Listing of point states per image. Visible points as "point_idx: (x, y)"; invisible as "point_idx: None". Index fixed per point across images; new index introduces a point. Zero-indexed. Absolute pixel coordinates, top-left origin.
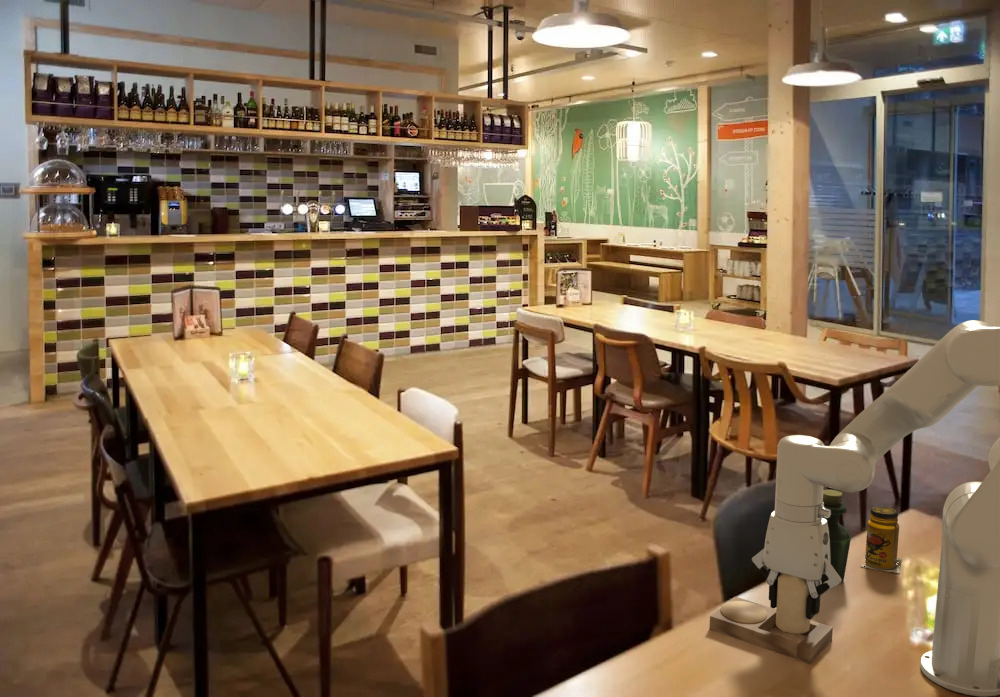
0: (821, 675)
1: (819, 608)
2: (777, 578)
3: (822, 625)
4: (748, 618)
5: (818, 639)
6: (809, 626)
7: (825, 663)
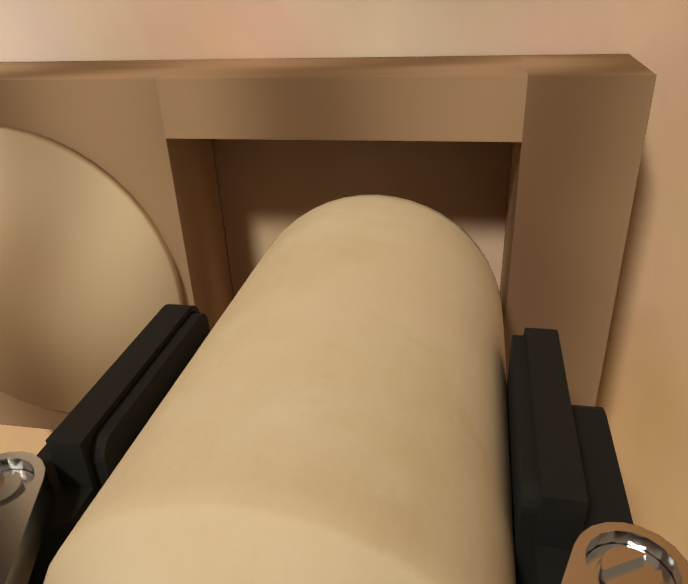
0: (655, 483)
1: (605, 422)
2: (49, 559)
3: (561, 106)
4: (113, 359)
5: (591, 341)
6: (501, 307)
7: (650, 368)
